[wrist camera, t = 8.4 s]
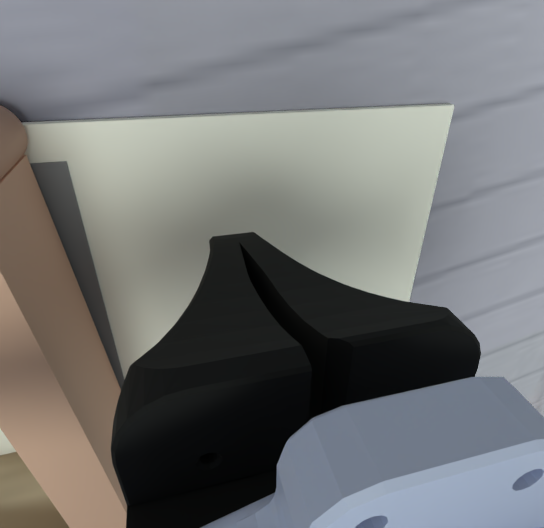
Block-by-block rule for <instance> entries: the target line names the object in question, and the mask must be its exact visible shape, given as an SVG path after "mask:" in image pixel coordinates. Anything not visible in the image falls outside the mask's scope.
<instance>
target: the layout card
mask: <svg viewBox="0 0 544 528" xmlns="http://www.w3.org/2000/svg"><path fill="white" fill-rule="evenodd" d="M453 110H454V105H452V104H427V105H404V106H381V107H359V108H336V109H314V110H291V111H269V112H246V113H224V114H201V115H179V116H156V117H133V118H111V119H88V120H66V121H43V122H21V123H22V125H23V126H24V128H25V131H26V134H27V141H28V143H27V149H26V151H25V153H24V155H27V158H28V160H29V163H30V165H31V168H32V170H33V173H34V175H35V178H36V180H37V183H38V185H39V188H40V190H41V193H42V195H43V198H44V200H45V203H46V205H47V208H48V210H49V212H50V215H51V217H52V220H53V222H54V225H55V227H56V230H57V232H58V235H59V237H60V240H61V242H62V245H63V247H64V250H65V252H66V255H67V257H68V260H69V262H70V265H71V267H72V270H73V272H74V275H75V277H76V279H77V282H78V284H79V287H80V289H81V292H82V294H83V297H84V299H85V302H86V304H87V307H88V309H89V312H90V314H91V317H92V319H93V322H94V324H95V327H96V329H97V332H98V334H99V337H100V339H101V342H102V344H103V346H104V349H105V351H106V354H107V356H108V359H109V361H110V364H111V366H112V369H113V371H114V374H115V376H116V379H117V381H118V384H119V386H120V389H122V386H123V383H124V380H125V377H126V375H127V372H128V369H129V367H130V365H131V364H132V363H134V362H135V361H136V360H138V359H139V358H140V357H141V356H143V355H144V354H145V353H146V352H147V351H149V350H150V349H151V348H152V347H154V346H155V345H156V344H157V343H158V342H159V341H160V340H161V339H162V338H163V337H164V336H165V335H166V333H167V332H168V331H169V330H170V329H171V328H172V327H173V326H174V325H175V323H176V322H177V321H178V319H179V318H180V317H181V315H182V314H183V312H184V311H185V310H186V308H187V307H188V305H189V303H190V302H191V300H192V298H193V297H194V295H195V293H196V291H197V289H198V287H199V284H200V282H201V280H202V277H203V275H204V272H205V269H206V266H207V262H208V259H209V254H210V244H209V240H210V239H211V238H212V237H213V236H222V235H230V234H239V233H248V232H254V233H256V234H257V235H259V236H260V237H262V238H263V239H264V240H266V241H267V242H269V243H270V244H271V245H273V246H274V247H276V248H277V249H279V250H280V251H281V252H283V253H285V254H286V255H288V256H289V257H291V258H292V259H294V260H296V261H297V262H299V263H301V264H303V265H304V266H306V267H308V268H310V269H311V270H313V271H315V272H317V273H319V274H321V275H324V276H326V277H328V278H331V279H333V280H335V281H337V282H340V283H342V284H345V285H348V286H351V287H354V288H357V289H360V290H363V291H366V292H369V293H373V294H376V295H380V296H384V297H388V298H392V299H397V300H401V301H406V302H409V300H410V296H411V291H412V287H413V283H414V278H415V274H416V270H417V265H418V261H419V257H420V252H421V248H422V244H423V239H424V235H425V231H426V226H427V222H428V218H429V213H430V209H431V205H432V200H433V196H434V192H435V187H436V183H437V179H438V175H439V170H440V166H441V162H442V157H443V153H444V149H445V144H446V140H447V136H448V131H449V127H450V123H451V118H452V114H453ZM13 452H16V450H15V449H14V447H13V446H12V445H11V443H10V442H9V440H8V439H7V437H6V436H5V434H4V433H3V432H2V430H1V429H0V455H4V454H8V453H13Z"/></svg>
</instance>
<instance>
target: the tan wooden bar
mask: <svg viewBox="0 0 544 528" xmlns="http://www.w3.org/2000/svg"><path fill="white" fill-rule="evenodd" d="M27 143H28V141H27V134H26V131H25V128H24V126H23V125H22V123H21V122H20V120H19V119H18V118H17V117H16V116H15V115H14V114H13V113H12V112H11V111H10V110H8V109H7V108H5V107H3V106H1V105H0V429H1V430H2V432H3V433H4V434H5V436H6V437H7V439H8V440H9V442H10V443H11V445H12V446H13V447H14V449H15V450H16V452H17V453H18V455H19V456H20V457H21V459H22V460H23V462H24V463H25V465H26V466H27V467H28V469H29V470H30V472H31V473H32V475H33V476H34V477H35V479H36V480H37V482H38V483H39V485H40V486H41V487H42V489H43V490H44V492H45V493H46V495H47V496H48V497H49V499H50V500H51V502H52V503H53V505H54V506H55V508H56V509H57V510H58V512H59V513H60V515H61V516H62V518H63V519H64V520H65V522H66V523H67V525H68V526H69V528H126V518H127V504H126V501H125V498H124V495H123V493H122V490H121V487H120V484H119V481H118V478H117V475H116V473H115V470H114V467H113V464H112V457H111V440H112V429H113V420H114V415H115V411H116V407H117V403H118V399H119V395H120V392H121V389H120V386H119V384H118V381H117V379H116V376H115V374H114V371H113V369H112V366H111V364H110V361H109V359H108V356H107V354H106V351H105V349H104V346H103V344H102V342H101V339H100V337H99V334H98V332H97V329H96V327H95V324H94V322H93V319H92V317H91V314H90V312H89V309H88V307H87V304H86V302H85V299H84V297H83V294H82V292H81V289H80V287H79V284H78V282H77V279H76V277H75V275H74V272H73V270H72V267H71V265H70V262H69V260H68V257H67V255H66V252H65V250H64V247H63V245H62V242H61V240H60V237H59V235H58V232H57V230H56V227H55V225H54V222H53V220H52V217H51V215H50V212H49V210H48V208H47V205H46V203H45V200H44V198H43V195H42V193H41V190H40V188H39V185H38V183H37V180H36V178H35V175H34V173H33V170H32V168H31V165H30V163H29V160H28V158H27V155H24V153H25V151H26V149H27Z"/></svg>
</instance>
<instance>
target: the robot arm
mask: <svg viewBox="0 0 544 528" xmlns="http://www.w3.org/2000/svg"><path fill="white" fill-rule="evenodd" d="M209 244H210V254H209V259H208V262H207V266H206V269H205V272H204V275H203V277H202V280H201V282H200V284H199V287H198V289H197V291H196V293H195V295H194V297H193V298H192V300H191V302H190V303H189V305H188V307H187V308H186V310H185V311H184V312H183V314H182V315H181V317H180V318H179V319H178V321H177V322H176V323H175V325H174V326H173V327H172V328H171V329H170V330H169V331H168V332H167V333H166V335H165V336H164V337H163V338H162V339H161V340H160V341H159V342H158V343H157V344H156V345H155V346H154V347H152V348H151V349H150V350H149V351H147V352H146V353H145V354H144V355H143V356H141V357H140V358H139V359H138V360H136V361H135V362H134V363H132V364H131V365H130V367H129V369H128V372H127V375H126V377H125V380H124V383H123V386H122V389H121V392H120V395H119V399H118V403H117V407H116V411H115V415H114V420H113V429H112V440H111V457H112V464H113V467H114V470H115V473H116V475H117V478H118V481H119V484H120V487H121V490H122V493H123V495H124V498H125V501H126V504H127V518H126V528H544V417H543V416H542V415H541V414H540V413H539V412H538V411H537V410H536V409H535V408H534V407H533V406H532V405H531V404H530V403H529V402H528V401H527V400H526V399H525V398H524V397H523V396H522V394H521V393H520V392H519V391H518V390H517V389H516V388H515V387H514V386H512V385H511V384H510V383H509V382H508V381H507V380H506V379H505V378H504V377H475V374H476V371H477V369H478V364H479V360H480V355H481V352H480V343H479V341H478V340H477V338H476V337H475V335H474V334H473V333H472V332H471V331H470V330H469V329H468V328H467V327H466V326H465V325H464V324H463V323H462V322H461V321H460V320H459V319H458V318H457V317H456V316H455V315H454V314H453V313H452V312H451V311H450V310H449V309H448V308H444V307H438V306H431V305H425V304H418V303H411V302H406V301H401V300H397V299H392V298H388V297H384V296H380V295H376V294H373V293H369V292H366V291H363V290H360V289H357V288H354V287H351V286H348V285H345V284H342V283H340V282H337V281H335V280H333V279H331V278H328V277H326V276H324V275H321V274H319V273H317V272H315V271H313V270H311V269H310V268H308V267H306V266H304V265H303V264H301V263H299V262H297V261H296V260H294V259H292V258H291V257H289V256H288V255H286V254H285V253H283V252H281V251H280V250H279V249H277V248H276V247H274V246H273V245H271V244H270V243H269V242H267V241H266V240H264V239H263V238H262V237H260V236H259V235H257V234H256V233H254V232H248V233H239V234H230V235H222V236H213V237H212V238H211V239H210V240H209Z"/></svg>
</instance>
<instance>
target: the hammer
mask: <svg viewBox="0 0 544 528" xmlns="http://www.w3.org/2000/svg"><path fill="white" fill-rule="evenodd" d="M0 528H69V526H68V525H67V523H66V522H65V520H64V519H63V518H62V516H61V515H60V513H59V512H58V510H57V509H56V508H55V506H54V505H53V503H52V502H51V500H50V499H49V497H48V496H47V495H46V493H45V492H44V490H43V489H42V487H41V486H40V485H39V483H38V482H37V480H36V479H35V477H34V476H33V475H32V473H31V472H30V470H29V469H28V467H27V466H26V465H25V463H24V462H23V460H22V459H21V457H20V456H19V455H18V453H17V452H13V453H8V454H4V455H0Z"/></svg>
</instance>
